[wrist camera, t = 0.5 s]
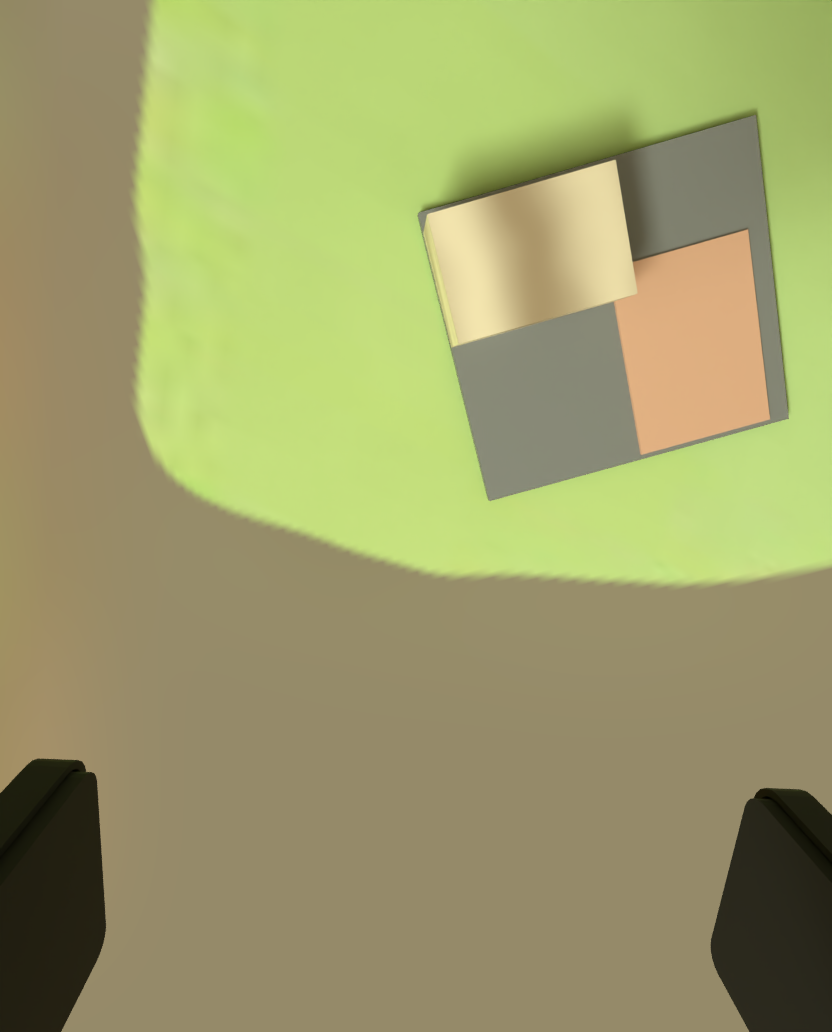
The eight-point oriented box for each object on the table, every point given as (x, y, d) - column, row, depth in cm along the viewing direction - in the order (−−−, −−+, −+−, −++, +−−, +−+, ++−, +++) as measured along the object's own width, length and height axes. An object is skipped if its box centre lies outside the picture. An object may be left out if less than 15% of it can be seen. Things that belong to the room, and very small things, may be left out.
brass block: (589, 185, 30) (615, 159, 26) (610, 302, 31) (637, 293, 28) (423, 232, 30) (427, 214, 26) (451, 347, 31) (458, 344, 28)
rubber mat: (748, 120, 30) (758, 113, 29) (781, 417, 34) (790, 418, 33) (417, 215, 30) (418, 211, 29) (487, 498, 34) (490, 501, 33)
